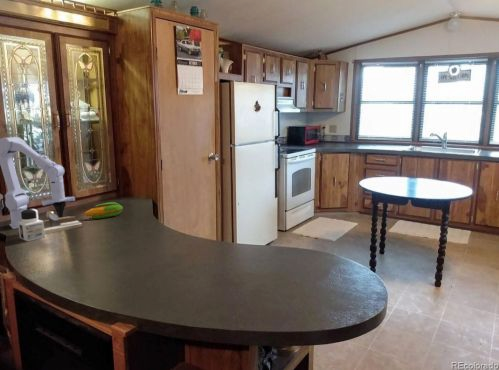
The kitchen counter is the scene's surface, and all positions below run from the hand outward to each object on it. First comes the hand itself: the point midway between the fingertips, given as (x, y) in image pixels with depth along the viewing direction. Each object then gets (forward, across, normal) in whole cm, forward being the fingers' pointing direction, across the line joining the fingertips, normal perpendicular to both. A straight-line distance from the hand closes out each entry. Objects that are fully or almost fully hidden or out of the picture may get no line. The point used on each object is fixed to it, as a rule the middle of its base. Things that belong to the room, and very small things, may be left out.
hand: (60, 217), depth 189 cm
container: (+5, -15, -9) cm, 18 cm away
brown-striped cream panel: (+5, -1, +3) cm, 6 cm away
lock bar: (+1, -3, +3) cm, 4 cm away
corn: (+5, +23, +4) cm, 24 cm away
